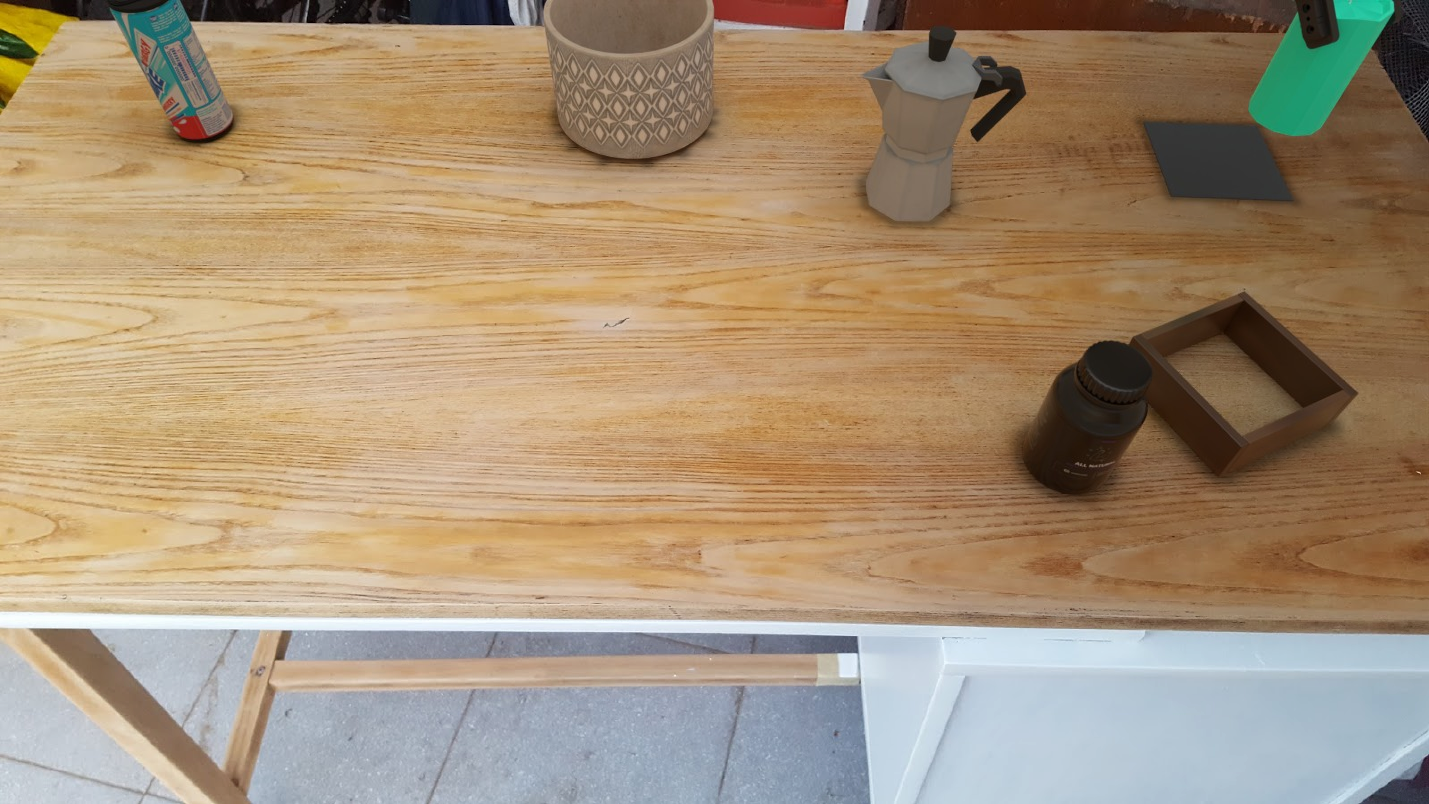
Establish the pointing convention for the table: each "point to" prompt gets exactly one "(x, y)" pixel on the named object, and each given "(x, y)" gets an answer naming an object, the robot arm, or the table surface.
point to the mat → (1216, 161)
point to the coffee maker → (929, 121)
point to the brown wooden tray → (1271, 352)
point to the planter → (632, 73)
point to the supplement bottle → (1089, 418)
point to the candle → (1316, 69)
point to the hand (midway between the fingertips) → (1355, 34)
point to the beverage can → (175, 66)
